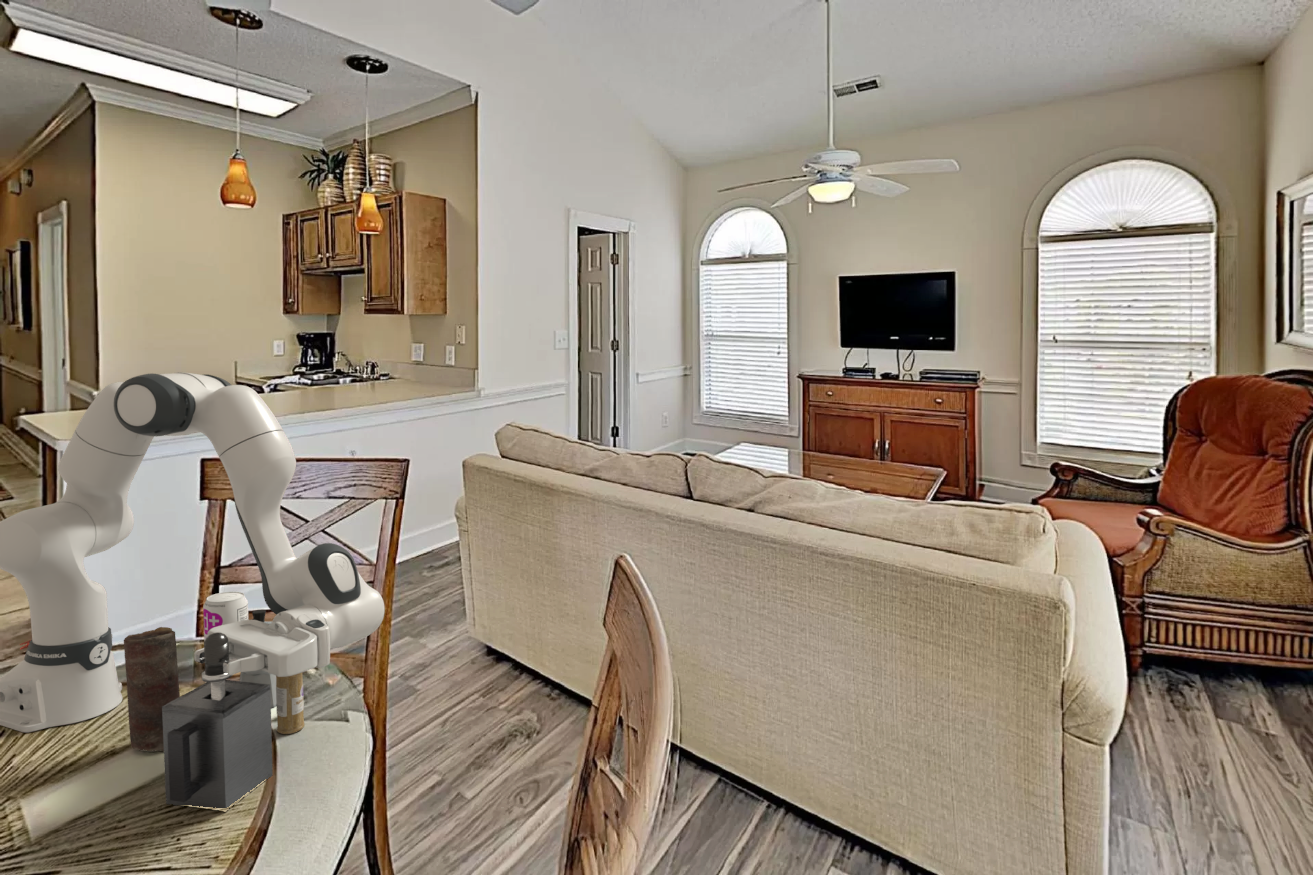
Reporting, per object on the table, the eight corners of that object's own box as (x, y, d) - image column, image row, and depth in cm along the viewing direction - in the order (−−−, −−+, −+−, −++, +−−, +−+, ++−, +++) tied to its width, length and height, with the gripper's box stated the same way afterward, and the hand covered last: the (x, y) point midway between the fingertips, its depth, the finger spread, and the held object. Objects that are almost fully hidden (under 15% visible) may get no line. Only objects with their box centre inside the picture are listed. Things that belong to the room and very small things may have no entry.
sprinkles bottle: (306, 730, 132) (305, 658, 131) (277, 737, 130) (276, 663, 128) (302, 720, 136) (301, 649, 135) (274, 726, 133) (272, 654, 132)
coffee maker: (291, 709, 140) (289, 616, 138) (238, 720, 135) (235, 624, 133) (280, 680, 152) (278, 595, 151) (230, 690, 147) (228, 601, 146)
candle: (125, 760, 121) (119, 642, 119) (132, 740, 127) (127, 627, 125) (180, 750, 124) (176, 635, 123) (185, 731, 131) (181, 621, 129)
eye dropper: (178, 782, 110) (173, 639, 108) (217, 756, 118) (212, 622, 116) (224, 788, 109) (219, 644, 107) (260, 761, 117) (256, 626, 114)
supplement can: (218, 675, 154) (216, 605, 152) (197, 666, 158) (195, 597, 157) (257, 662, 161) (255, 595, 159) (236, 654, 165) (234, 588, 164)
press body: (147, 816, 107) (143, 716, 105) (216, 767, 119) (213, 678, 118) (209, 825, 105) (205, 724, 103) (272, 775, 118) (270, 684, 116)
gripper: (257, 605, 128) (172, 628, 116) (335, 628, 118) (250, 657, 106) (258, 640, 128) (173, 667, 116) (335, 667, 118) (251, 699, 106)
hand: (211, 663), depth 111 cm, fingers open, 6 cm apart
